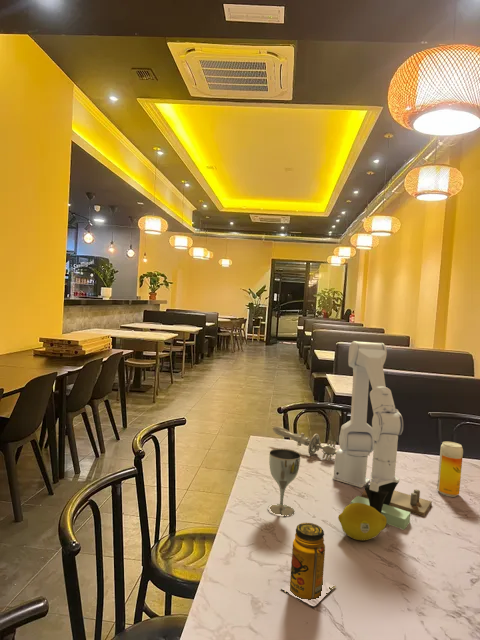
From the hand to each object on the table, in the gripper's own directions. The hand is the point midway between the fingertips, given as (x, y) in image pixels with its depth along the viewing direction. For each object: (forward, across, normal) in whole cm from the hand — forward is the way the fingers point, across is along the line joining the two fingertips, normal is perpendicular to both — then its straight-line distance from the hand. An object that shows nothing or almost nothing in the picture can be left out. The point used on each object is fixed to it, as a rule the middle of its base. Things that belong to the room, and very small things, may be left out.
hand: (380, 509), depth 116 cm
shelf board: (+2, 0, 0) cm, 2 cm away
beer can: (+2, +30, -11) cm, 32 cm away
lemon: (+2, -14, 0) cm, 14 cm away
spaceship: (+2, +30, +34) cm, 46 cm away
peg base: (+2, +13, 0) cm, 13 cm away
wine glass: (+2, -15, +21) cm, 26 cm away
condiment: (+2, -39, +1) cm, 39 cm away
